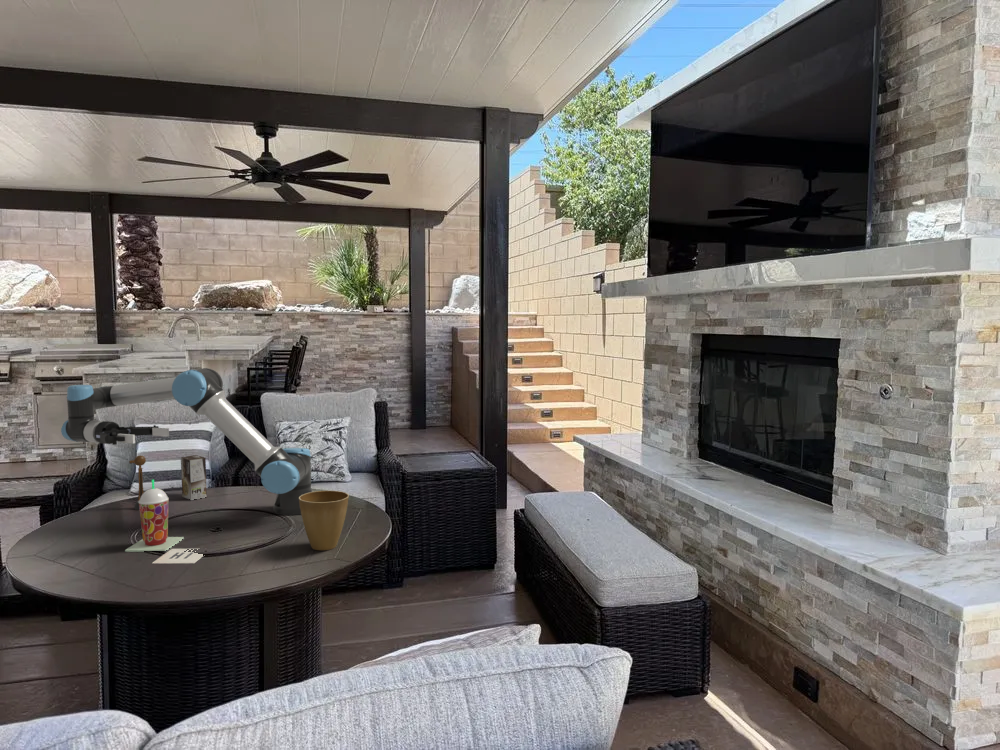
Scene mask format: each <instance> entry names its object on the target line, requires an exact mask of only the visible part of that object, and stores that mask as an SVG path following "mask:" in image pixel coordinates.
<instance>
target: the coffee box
mask: <svg viewBox="0 0 1000 750" xmlns="http://www.w3.org/2000/svg"><path fill="white" fill-rule="evenodd" d="M206 460H207V459H206V457H203V456H202V455H201V456H200V455H197V454H195V455H186V456H181V457H180V473H181V475H180V476H181V492H182V493H181V496H182V498H185V499H186V500H189V499H190V500H189V501H195V500H194V499H197V500H201V499H200V498H202V499H206V498H205V497H208V496H207V464H206V462H207V461H206Z"/></svg>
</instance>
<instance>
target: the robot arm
mask: <svg viewBox="0 0 1000 750" xmlns="http://www.w3.org/2000/svg"><path fill="white" fill-rule="evenodd" d="M223 387H224V381H223V378H222V376H221V375H220V373H219V372H218V371H216V370H215V369H212V368H208V367H203V368H196V369H187V370H185V371H182V372H181V373H179V374H178V375H176V377H169V378H161V379H160V378H159V379H153V380H146V381H145V380H144V381H138V382H130V383H123V384H117V385H116V384H115V385H109V386H107V385H104V386H100V387H99V386H98V387H95V388H94V387H93V385H91V384H75V385H74V384H73V385H69V386H67V389H66V391H67V392H66V401H67V404H66V405H67V416H68V418H67V420H65V421H64V422H63V423H62V426H61V428H60V433H61V436H62V437H63V438H64V439H66V440H68V441H71V442H72V441H73V442H77V443H79V442H81V443H94V444H95V445H99V444H104V445H105V444H107V445H111V444H112V446H113V445H114V446H115V445H117V444H118V443H119V444H120V443H121V444H122V443H123V444H133V445H134V444H136V437H138V436H153V437H164V438H165V437H167V438H168V437H170V428H165V427H159V426H156V425H157V424H154V425H153V426H131V425H130V426H126V427H125V426H120V425H119V424H118V423H117V422H115V421H105V420H95V410H96V411H97V410H100V409H106V408H113V407H118V406H119V407H120V406H126V405H134V404H144V403H151V402H158V401H166V400H172V399H173V400H175V401H176V402H177V403H178V404H180V405H183V406H185V407H189V408H190V409H191V410H192V411H193V412H195V414H196V415H204V416H205V417H206V418H207V419H209V421H210V422H211V423H212V424H213V425H214V426H216V428H218V430H219V431H220V432H221V433H222V434H223V435H224V436H226V437H227V438H228V440H229V441H231V443H233V444H234V445H235V446H236V447H237V449H239V451H241V452H242V454H244V455H245V456H246V457H247V458H248V459H249V461H251V462H252V463H253V465H254V472H255V473H256V474H257V475H258V476H259V477H260V479H261V480H260V481H261V484H262V486H263V488H265V490H266V491H268V492H269V493H272V494H275V495H276V498H275V500H274V502H273V512H274V513H275V514H277V515H282V516H283V515H284V516H296V515H301V510H300V503H299V497H300V496H301V495H303V494H306V493H310V492H313V489H312V469H311V468H312V467H311V466H312V465H311V464H312V462H311V460H312V459H311V458H312V455H311V451H310V449H309V448H305V447H287V448H282V447H281V446H274V445H273V444H272V442H270V441H269V440H268V439H267V438H266V437H265V436H264V435H263V434H262V433H261V432H260V431H259V430H258V429H257V428H255V427H256V426H255V427H254V425H253V424H252V423H251V422H250V421H249V420H248V419H247V418H245V417H244V415H243V414H242V413H241V412H240V411H239V410H238V409H236V408H235V406H233V404H232V403H231V402H230V401H229V400H228V399H226V396H225V392H226V391H225V390H224V389H223Z"/></svg>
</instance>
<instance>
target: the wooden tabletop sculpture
mask: <svg viewBox="0 0 1000 750" xmlns="http://www.w3.org/2000/svg"><path fill="white" fill-rule="evenodd" d="M146 462H147V459H146V457H145V456H144V455H137V456H136V457H135V458H134V459H132V460H129V461H128V463H129V464H134V465H136V466H138V468H137V470H138V471H137V475H138V495H137V501H136V502H135V504H134V510H135V511H140V510H139V503H138V501H139V500H140V498H141V496H142V494H143V493H144V492H145V491H144V486H143V485H144V483H143V482H144V477H143V469H144V468H143V467H142V466H144V465H145V464H146Z"/></svg>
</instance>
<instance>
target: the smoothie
mask: <svg viewBox="0 0 1000 750" xmlns="http://www.w3.org/2000/svg"><path fill="white" fill-rule="evenodd" d="M169 499H170V498H169V497H168V495H167V494H166V492H165V491H164V490H163V489H161V488H157V487H155V479H151V488H149V489H147V490H146V491H144V493H143V494H142V496H141V498H140V500H139V501H138V500H137V501H138V503H139V510H138V511H139V516H140V525H141V526H140V527H141V534H142V539H143V541H144V542H145V544H146V545H148V546H155V545H160V544H163V543H165V542H166V538H168V537H169V534H168V533H169V504H170V503H169Z"/></svg>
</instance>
